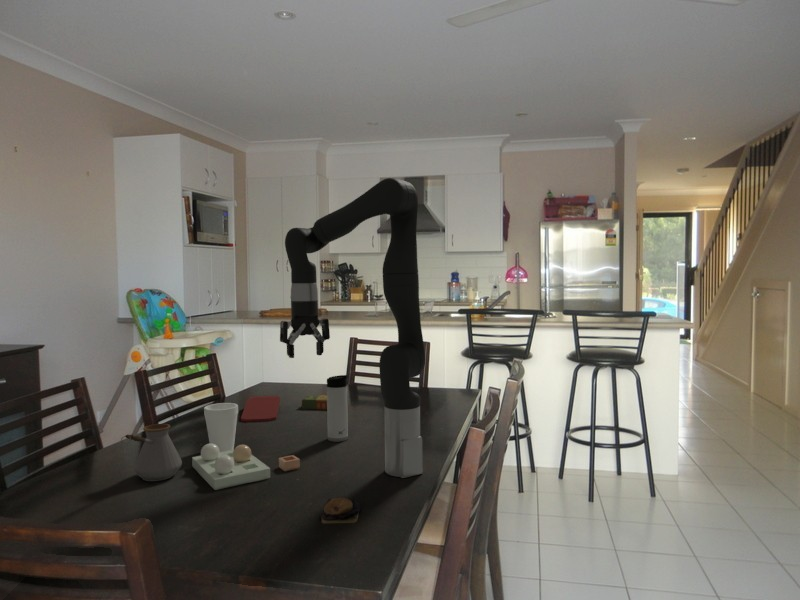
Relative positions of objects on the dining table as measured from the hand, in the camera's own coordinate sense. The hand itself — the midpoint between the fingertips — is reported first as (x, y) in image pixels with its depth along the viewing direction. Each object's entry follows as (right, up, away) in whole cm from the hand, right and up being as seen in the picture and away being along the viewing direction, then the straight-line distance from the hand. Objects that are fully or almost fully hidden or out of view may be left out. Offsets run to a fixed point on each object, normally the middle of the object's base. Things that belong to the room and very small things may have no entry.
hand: (305, 356), depth 166 cm
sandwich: (+14, -31, -40) cm, 52 cm away
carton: (-2, -26, +60) cm, 65 cm away
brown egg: (-15, -27, -11) cm, 33 cm away
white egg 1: (-24, -27, -10) cm, 37 cm away
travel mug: (+8, -27, +16) cm, 33 cm away
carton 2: (-24, -27, +51) cm, 63 cm away
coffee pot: (-36, -30, -20) cm, 51 cm away
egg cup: (-3, -29, -10) cm, 31 cm away
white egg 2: (-17, -28, -20) cm, 38 cm away
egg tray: (-18, -29, -13) cm, 36 cm away
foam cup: (-25, -28, +6) cm, 39 cm away
